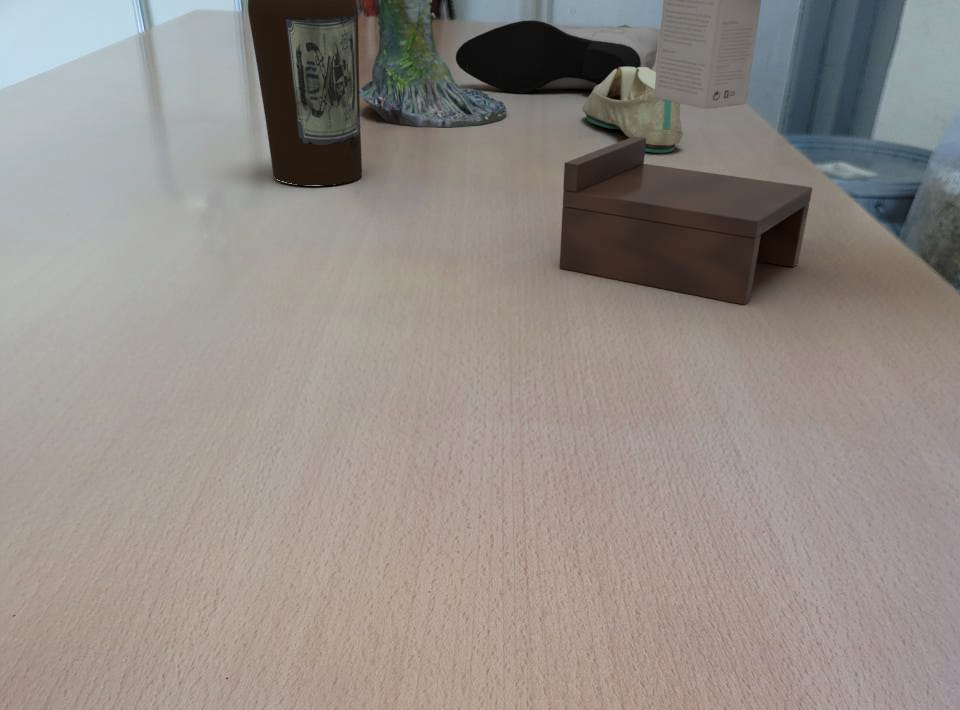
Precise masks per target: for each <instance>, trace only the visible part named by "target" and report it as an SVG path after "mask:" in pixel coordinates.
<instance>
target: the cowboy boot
mask: <svg viewBox="0 0 960 710" xmlns="http://www.w3.org/2000/svg"><path fill="white" fill-rule="evenodd" d="M658 41H659V40H658V36H657V33H656V32H655V29H653V28H651V27H650V26H645V25H644V26H643V25H642V26H634V27H632V26H630V25H628V24H623V25H619V26H618V25H617V26H594V27H592V26H591V27H585V28H580V29H579V28H578V29H573V28H567V27H562V26H556V25H552V24H551V23H548V22H545V21H540V20H534V19H532V20H520V21H515V22H511V23H508V24H505V25H501V26H499V27H495V28H493V29H489V30H488V31H485V32H483V33H481V34H479V35H476V36H474V37H472V38H470V39H468V40H466V41H465V42H463V43H462V45H460V46H459V47H458V50H457V51H456V53H455V62H456V64H457V66H458V67H459V68H460V69H461V70H462V71H463V72H464V73H466V74H468V75H469V76H471V77H473V78H474V79H476V80H478V81H480V82H482V83H483V84H486V85H488V86H490V87H492V88H494V89H497V90H499V91H503V92H507V93H511V94H528V93H531V92H534V91H536V90H538V89H539V90H541V89H544V90H545V89H559V90H560V89H561V90H564V89H565V90H570V89H575V90H593V89H594V87H595V86H597V85H599V84H601V83H602V82H603V81H604V80H605V79H606V78H607V77H608V76H609V75H610V73H611V72H612V71H613V70H615V69H618V68H620V67H635V68H636V69H637V68H638V67H647V68H649V69H651V70H653V67H654V66H655V64H656V59H657V54H658V44H659V42H658Z"/></svg>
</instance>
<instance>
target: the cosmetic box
mask: <svg viewBox="0 0 960 710" xmlns="http://www.w3.org/2000/svg"><path fill="white" fill-rule="evenodd" d="M662 3H663V4H662V13H661V22H660V31H659V40H658V41H659V42H658V50H657V63H656V71H655V72H656V81H655V91H654V97H655V98H658V99H663V100H668V101H672V102H677V103H680V105H686V106H691V107H696V108H700V109H705V110H707V109H708V110H709V109H718V108H725V107H732V106H742V105H746V104H747V101H748V95H749V86H750V81H751V73H752V67H753V60H754V54H755V45H756V39H757V33H758V27H759V20H760V13H761V6H762V0H663V1H662Z"/></svg>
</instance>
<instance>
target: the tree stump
mask: <svg viewBox="0 0 960 710" xmlns="http://www.w3.org/2000/svg"><path fill="white" fill-rule="evenodd" d="M432 4H433V0H378V8H379V14H378V15H377V19H378V21H377V25H378V27H379V28H378V36H379V41H378V51H377V54H376V57H375V59H374V63H373V66H372V71H371V76H372V77H371V78H372V80H370V81H368V82H367V83H365V84H364V85H363V86H362V87H361V89H359V96H360V98H361V99H362V100H363V101H364V102H365V103H367V104H368V105H369V106H370V107H371V108H372V109H373V110H374V111H375V112H376V113H377V114H378V115H379V116H380V117H381V118H382V119H383V120H384V122H387V123H391V124H395V125H403V126H411V127H419V128H421V127H423V128H424V127H426V128H427V127H429V128H430V127H431V128H432V127H433V128H456V127H457V128H459V127H470V126H483V125H486V124H490V123H494V122H498V121H501V120H503V119H504V118H505V117H506V116H507V107H506V105H505V103H504V102H503V101H502V100H496V99H495V98H493V97H491V96H490V95H489V94H488V93H484V92H483V91H482V90H480V89H479V90H476V89H474V88H465V89H462V88H460V87H459V85H458V83H456V82H455V80H454V78H453V75H452V72H451V70H450V68H449V66H448V65H447V63H446V62H445V61H444V59H442V58H441V56H440V55H439V53H438V49H437V45H436V39H435V36H434V30H433V22H434V20H435V19H436V15H435V13H434V12H431V9H432Z"/></svg>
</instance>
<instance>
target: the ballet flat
mask: <svg viewBox="0 0 960 710" xmlns="http://www.w3.org/2000/svg"><path fill="white" fill-rule="evenodd" d="M655 81H656V71H655V70H653V69H649V68H647V67H638V68H637V69H636V68H635V67H620V68H618V69H615V70H613V71H612V72H611V73H610V75H609V76H608V77H607V78H606V79H605V80H604V81H603V82H602V83H601V84H599V85H597V86H595V87H594V89H592V91H591V93H590V94H589V96H588V97H587V98H586V100H585V101H584V103H583V105H582V107H581V109H582V112H583V113H584V114H585V115H586V116H585V119H586V120H587V121H588V122H589V123H591V124H593V125H596V126H598V127H602V128H606V129H610V130H621V131H622V132H623V134H624V135H625V136H626V137H627V139H629V138H631V137H634V136H635V137H642V138H646V145H645V153H646V152H647V153H652V154H666V153H671V152H673V151H674V150H675V146H676V144H678V143H680V142H681V141H682V139H683V135H684V132H683V129H682V121H681V103H677V102H672V101H668V100H663V99H658V98H655V97H654V91H655ZM647 88H649V89H647Z"/></svg>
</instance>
